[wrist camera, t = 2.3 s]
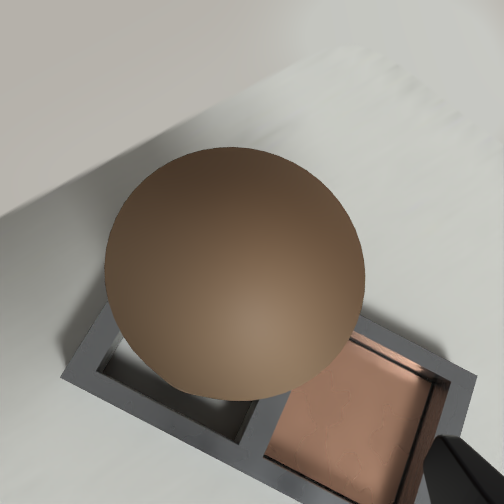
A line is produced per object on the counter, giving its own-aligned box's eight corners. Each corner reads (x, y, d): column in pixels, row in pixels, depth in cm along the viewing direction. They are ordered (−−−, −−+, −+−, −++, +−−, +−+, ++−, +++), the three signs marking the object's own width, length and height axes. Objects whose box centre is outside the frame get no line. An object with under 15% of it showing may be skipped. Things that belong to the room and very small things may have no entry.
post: (225, 414, 18) (304, 452, 7) (128, 364, 18) (47, 319, 7) (271, 317, 20) (399, 217, 8) (181, 270, 20) (187, 107, 8)
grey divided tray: (403, 552, 18) (422, 566, 16) (69, 378, 18) (60, 377, 16) (456, 377, 20) (477, 376, 19) (164, 224, 20) (162, 212, 19)
